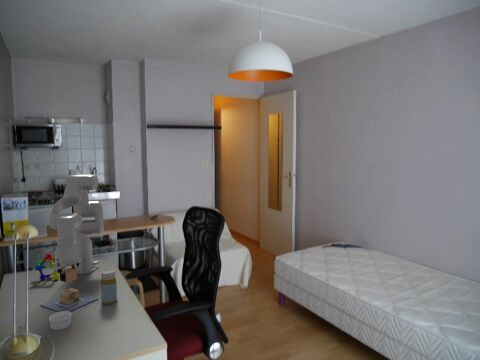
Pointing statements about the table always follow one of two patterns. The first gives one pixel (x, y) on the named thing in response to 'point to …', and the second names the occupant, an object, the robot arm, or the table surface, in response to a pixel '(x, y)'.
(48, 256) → the educational toy
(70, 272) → the terracotta cube
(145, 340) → the table surface
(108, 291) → the bottle
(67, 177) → the robot arm
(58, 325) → the ramekin
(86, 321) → the table surface
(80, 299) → the board
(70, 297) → the oak block
